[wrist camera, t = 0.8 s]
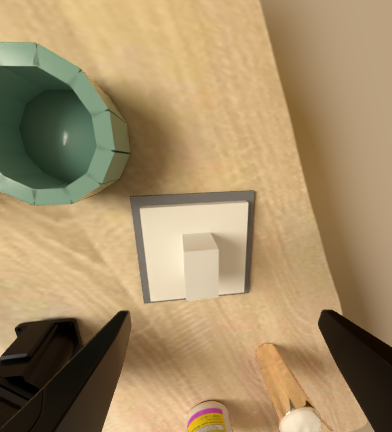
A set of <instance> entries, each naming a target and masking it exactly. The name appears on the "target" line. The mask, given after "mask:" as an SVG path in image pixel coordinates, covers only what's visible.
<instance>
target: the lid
mask: <svg viewBox="0 0 392 432" xmlns="http://www.w3.org/2000/svg"><path fill="white" fill-rule="evenodd" d="M140 216H141V225H142V233H143V241H144V250H145V258H146V266H147V275H148V283H149V291H150V300H151V302H153V301H163V300H173V299H183V298H186V301H193V300H203V299H213V298H219V295H223V294H233V293H244V284H245V263H246V243H247V222H248V202H247V201H228V202H209V203H191V204H172V205H154V206H141V207H140Z"/></svg>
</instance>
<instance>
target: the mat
mask: <svg viewBox="0 0 392 432" xmlns="http://www.w3.org/2000/svg"><path fill="white" fill-rule="evenodd" d="M130 200H131V208H132V215H133V223H134V230H135V238H136V246H137V253H138V261H139V268H140V276H141V283H142V291H143V299H144V303H154V302H164V301H175V300H185V299H186V298H183V299H173V300H163V301H153V302H151V300H150V291H149V283H148V275H147V266H146V258H145V250H144V241H143V233H142V225H141V216H140V207H141V206H154V205H172V204H191V203H209V202H228V201H247V202H248V222H247V243H246V263H245V284H244V293H233V294H223V295H219V296H225V295H235V294H245V293H249V279H250V261H251V244H252V226H253V208H254V191H253V190H250V191H230V192H209V193H189V194H169V195H148V196H131V197H130Z"/></svg>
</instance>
